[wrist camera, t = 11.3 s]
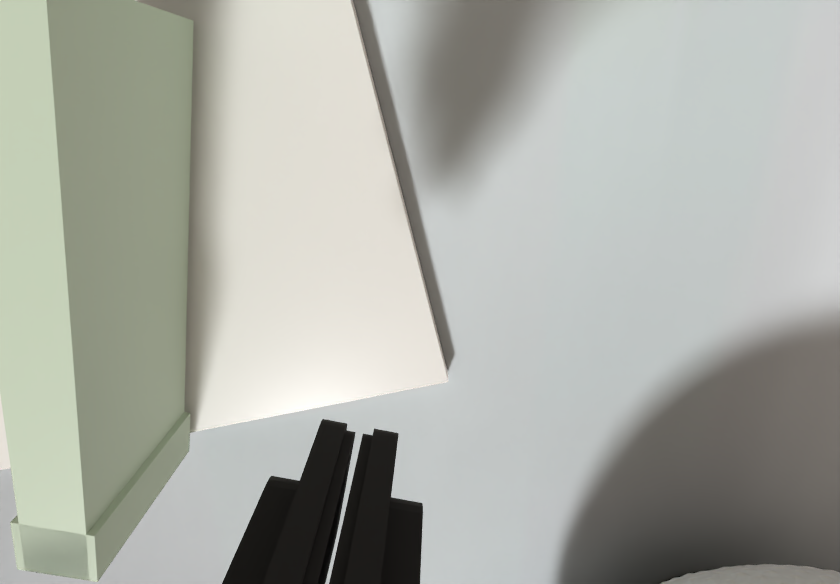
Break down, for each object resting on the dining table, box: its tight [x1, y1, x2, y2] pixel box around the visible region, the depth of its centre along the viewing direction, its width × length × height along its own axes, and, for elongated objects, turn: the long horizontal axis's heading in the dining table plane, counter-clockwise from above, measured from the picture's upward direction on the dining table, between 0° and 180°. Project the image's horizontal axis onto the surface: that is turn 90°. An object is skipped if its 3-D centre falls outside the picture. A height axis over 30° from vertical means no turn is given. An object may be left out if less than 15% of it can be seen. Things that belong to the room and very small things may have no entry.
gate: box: [0, 0, 194, 582], centre depth 12 cm, size 14×2×5 cm, turn 169°
